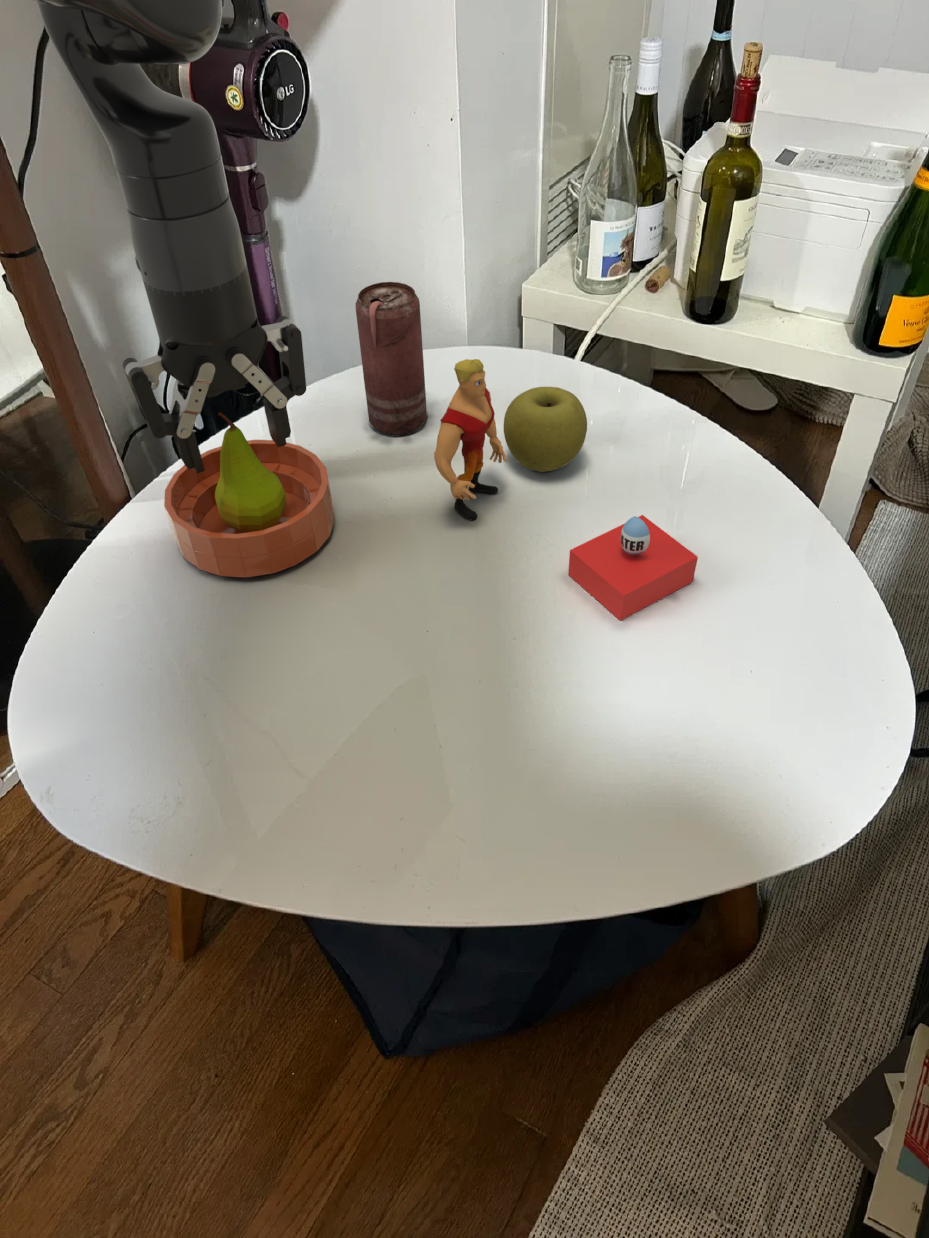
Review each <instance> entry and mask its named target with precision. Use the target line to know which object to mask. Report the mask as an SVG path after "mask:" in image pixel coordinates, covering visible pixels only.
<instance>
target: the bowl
mask: <svg viewBox="0 0 929 1238" xmlns="http://www.w3.org/2000/svg"><path fill="white" fill-rule="evenodd" d="M247 442H248V444H249V445H250V447H251V449H252V450H253V452H254V454H255V455H256V456H257V458H258V459H259V461H260V462H261V463H262V465H263V466H264V467H266V468H267V469H268V470H270V471H271V472H273V473H274V474H276V475H277V477H278V478H279V480H280V482H281V485H282V487H283V489H284V491H285V495H286V505H285V509H284V511H283V513H282V515H281V518H280V520H279V522H278V524H277V525H276V526H273V527H270V528H267V529H265V530H261V531H254V532H242V531H239V530H236V529H233V528H230V527H228V526H227V525H226V524H225V523H224V522H223V520H222V518H221V515H220V513H219V510H218V507H217V503H216V499H215V490H216V487H217V484H218V481H219V478H220V453H221V447H222V445H221V446H218V447H214V448H211V449H209V450H206V451H204V452H202V453H200V454H201V458H202V461H203V465H204V469H205V471H204V472H201V473H198V474H197V473H196V472H195V470H194V469H193V468H192V469H188V468H187V467H186V466H185V464H184V465H183V466H181V467H180V468H179V469H178V470H177V471H176V472H175V473H174V474H173V475H172V476H171V479H170V480H169V482H168V483H167V486H166V487H165V489H164V499H163V501H164V503H163V504H164V505H163V506H164V509H165V512H166V515H167V519H168V521H169V524H170V527H171V531H172V534H173V537H174V540H175V543H176V545H177V547H178V549H179V551H180V554H181V555H182V557H183V558H184V559H185V560H186V561H188V562H189V563H190V564H192V565H193V566H194V567H196V568H197V569H199V570H200V571H204V572H208V573H210V574H212V575H217V576H220V577H230V578H231V577H233V578H252V577H258V576H265V575H266V576H267V575H272V574H275V573H278V572H281V571H284V570H286V569H289V568H291V567H294V566H297V565H298V564H301V562H303V561H304V560H306V559H307V558H309V557H310V556H312V555H314V554H315V553H317V552H318V551H319V550H320V549H321V547H322V546H323V545H324V543H326V541H327V540H328V539H329V537H331V533H332V530H333V526H334V523H335V520H336V519H335V512H334V506H333V500H332V495H331V488H330V482H329V476H328V470H327V469H328V468H327V467H326V465H325V464H324V463H323V461H322V460H321V459H320V457H319V456H318V455H317V454H316V453H314V452H312V451H310V450H309V449H307V448H305V447H303V446H301V445H299V444H295V443H291V442H287V441H286V445H284V446H281V447H278V446H277V445H276V444H275V442H274V441H273V440H272V439H249V440H247Z"/></svg>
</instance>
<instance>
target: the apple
mask: <svg viewBox="0 0 929 1238" xmlns="http://www.w3.org/2000/svg"><path fill="white" fill-rule="evenodd" d="M587 432H588V417H587V413H586V409H585V408H584V406H583V404H582V402H581V400H580V399H579V398H578V397H577V396H576V395H575V394H574V393H572V392H571V391H569V390H567V389H564V388H561V387H557V386H538V387H532V388H530V389H528V390H525V391H523V392H522V393H519V394H518V395H517V396H516V397H515V398H514V399H513V400H511V402H510V404H509V405H508V407H507V409H506V411H505V413H504V417H503V436H504V439H505V443H506V446H507V448H508V450H509V452H510V454H511V455H512V457H513V458H514V459H515V460H516V461H517V462H518V464H520V465H521V466H523V467H524V468H526V469H528V470H531V471H534V472H539V473H541V472H542V473H545V472H546V473H547V472H552V471H555V470H558V469H561V468H563V467H565V466H567V465H568V464H569V463H571V462H572V461H573V460H574V459H575V458H576V457H577V455H578V454H579V453H580V451H581V449H582V448H583V446H584V443H585V440H586V437H587Z"/></svg>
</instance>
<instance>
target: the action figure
mask: <svg viewBox="0 0 929 1238" xmlns="http://www.w3.org/2000/svg"><path fill="white" fill-rule="evenodd" d="M453 369H454V370H453V371H454V372H455V375H456V379H457V382H458V385H459V386H458V387H457V389H456V390H455V392H454V394H453V396H452V398H451V400H450V402H449V403H448V406H447V408H446V412H445V413H444V414H443V416H442V417H441V419H440V420H439V421H440V424H439V429H438V430H439V431H438V434H437V439H436V447H435V450H434V453H433V458H434V463H435V467H436V469H437V470H438V472H439V475H441V476H442V478H443V479H444V480H445V481H446V482H448V483H449V484H450V485H449V486H450V493H451V495H452V497H453V498H454V499H455V502H454V505H453V508H454V510H455V511H456V512H458V514H459V515H461V516H462V517H463V518H465V519H467V520H468V521H473V520H476V519H477V518H478V513H477V512H476V511H475V510H473V509H472V508H470V507H469V506H468V505H467V504H466V503H465V502H464V500H466V501H467V502H469V501H471V499H473V500H476V499H477V496H476V495H475V494H474V493H475V492H483V493H487V494H497V493H498V492H499V488H498V487H497V486H495V485H490V484H489V485H488V484H484V483H481V482H479V478H480V475H481V472H482V468H483V467H484V461H483V460H484V447H485V446H484V445H485V441H486V436H487V437H488V438H489V441H488V442H489V444H490V446H491V449H492V452H491V455H490V457H489V460H490V461H492V460H493V463H496V462H497V459H498V464H501V463H502V462H504V463H506V462H508V459H507V455H506V453H505V451H504V447H503V445H502V442H501V440H500V439H499V437H498V436H497V435H498V431H497V425H496V420H495V410H494V407H493V405H492V396H491V393H490V391H489V390H488V388H487V383H486V379H485V378H486V371H485V370H484V363H483V362H482V361H481V360H480V359H477V358H474V359H467V358H465V359H463V360H460V361H458V362H457V363H455V365H454V367H453ZM461 442H462V443H461ZM460 443H461V444H462V445H461V456H462V458H463V466H464V467H463V468H464V469H463V470H464V472H463V473H461V474H459V475H458V476H457V475H456V472H455V471H454V469H453V467H452V461H453V459H454V457H455V455H456V453H457V451H458V449H459V446H460Z"/></svg>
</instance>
